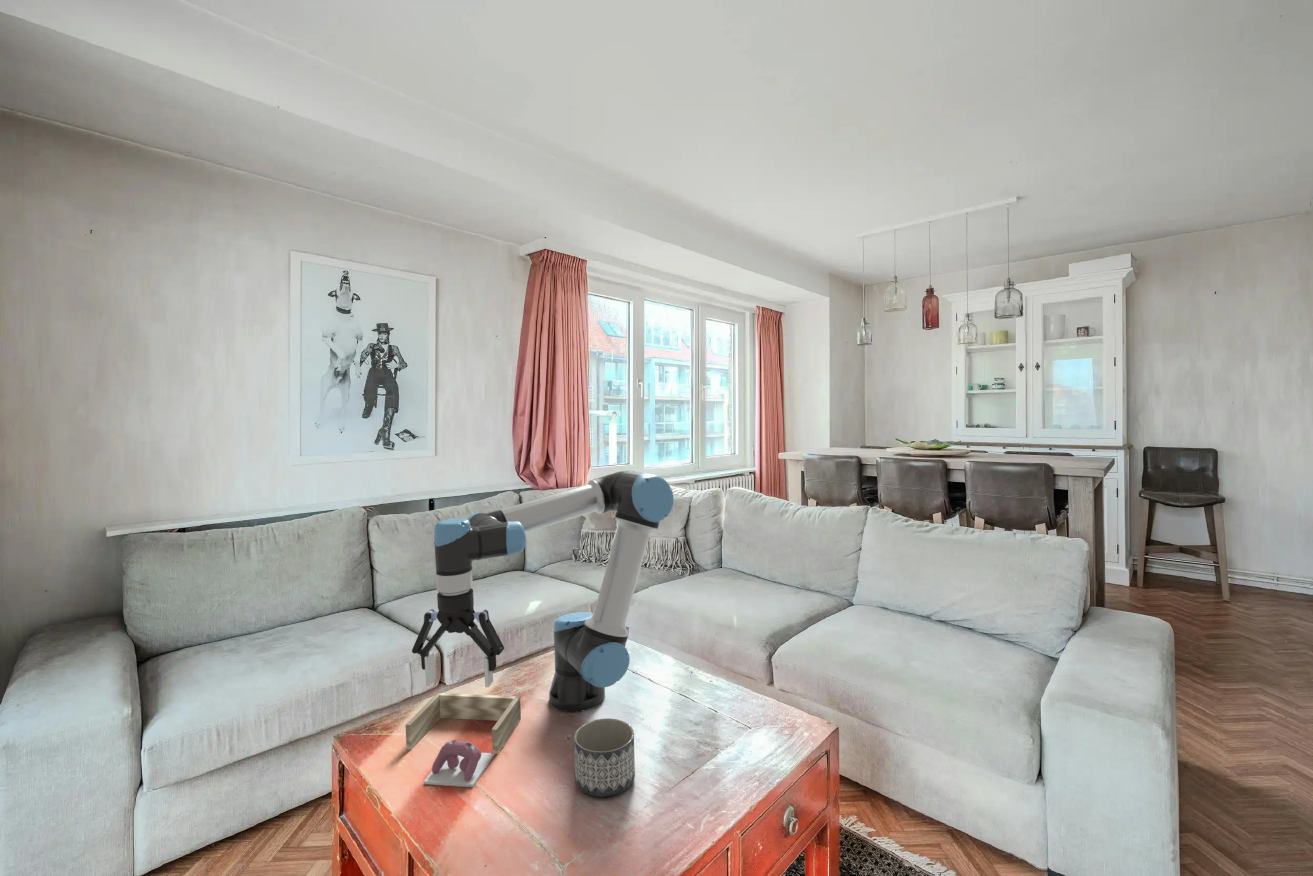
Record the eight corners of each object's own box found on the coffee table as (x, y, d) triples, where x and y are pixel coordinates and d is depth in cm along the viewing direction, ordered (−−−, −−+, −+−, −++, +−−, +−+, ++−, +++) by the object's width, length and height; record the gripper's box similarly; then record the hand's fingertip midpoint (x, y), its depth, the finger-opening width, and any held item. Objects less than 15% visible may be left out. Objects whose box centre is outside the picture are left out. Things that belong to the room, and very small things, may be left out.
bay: (520, 719, 148) (520, 696, 148) (497, 754, 133) (496, 729, 133) (438, 715, 151) (437, 692, 151) (406, 749, 136) (405, 724, 136)
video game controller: (479, 779, 126) (486, 743, 129) (466, 782, 122) (475, 745, 125) (441, 771, 129) (449, 736, 132) (428, 773, 125) (437, 737, 128)
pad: (493, 755, 133) (493, 753, 133) (473, 787, 122) (473, 784, 122) (448, 753, 134) (448, 750, 134) (424, 784, 123) (423, 781, 123)
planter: (611, 810, 115) (610, 759, 114) (562, 788, 121) (561, 740, 121) (646, 775, 125) (645, 728, 125) (599, 757, 132) (598, 712, 131)
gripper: (515, 585, 130) (519, 677, 131) (410, 584, 132) (415, 674, 134) (503, 596, 122) (507, 693, 123) (392, 595, 125) (397, 690, 126)
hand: (459, 684), depth 129 cm, fingers open, 13 cm apart
